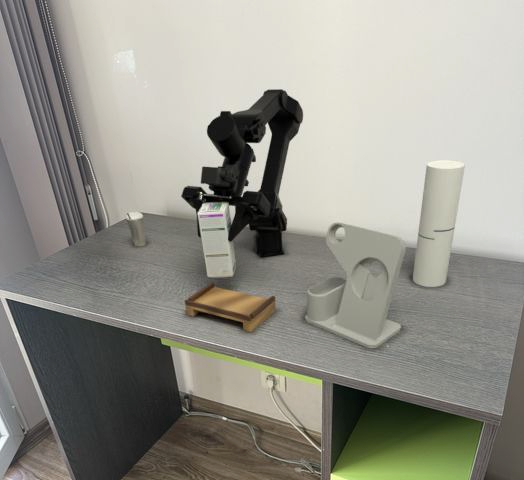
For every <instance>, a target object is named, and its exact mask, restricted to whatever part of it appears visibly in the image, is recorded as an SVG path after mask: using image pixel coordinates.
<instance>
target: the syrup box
mask: <svg viewBox="0 0 524 480" xmlns="http://www.w3.org/2000/svg"><path fill="white" fill-rule="evenodd" d="M197 214H198V220H199V226H200V233H201V238H200V239H201V244H202V253H203V257H204V264H205V271H206V276H207V278H231V277H232V278H233V277H234V274H235V271H236V267H237V261H236V252H235V244H234V243H235V242H234V239H233V240H232V242H230V241H229V240H228V235H229V231H230V228H231V225H232V220H231V211H230V206H229V203H228V202H211V203H204V204H202V206H201V208H200V209H199V211H198V213H197Z"/></svg>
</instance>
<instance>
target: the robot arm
mask: <svg viewBox="0 0 524 480" xmlns="http://www.w3.org/2000/svg"><path fill="white" fill-rule="evenodd" d="M303 120H304V110H303V108H302V106H301V104H300V102H299V100H297V99H295V98H293V96H290V95H289V94H288V93H287V91H286V90H284V89H282V88H278V89H276V88H275V89H273V88H272V89H266V90H264V92H263V93H262V96H260V97H259V99H257V100H256V101H255V102H254V103H253V104H252V105H251V106H250V107H249V108H247V109H244V110H239V111H236V112H234V113H232V112H231V111H230V110H221V111H220V114H219V115H218V116H216V117H215V118H213V119H212V120H211V121H210V123H209V124H208V125H207V126H206V127H207V128H206V135H207V137H208V138H209V140H210V141H211V143H212V144H213V146H214V147H215V149H216V151H217V152H218V153H219V154H220V156H222V158H223V162H222V165H221V166H219V165H218V166H217V167H216V166H202V167H201V175H200V184H201V185H204V184H205V185H208V189H209V190H210V191H211V192H213V193H208V192H206V190H204V188H203V187H202V186H196V185H195V186H194V185H187V186H184V188H183V189H182V192H181V196H180V197H181V198H182V199H183V200H184V201H185V202H186V203H187V204H188V205H189V206H190V207H191V208H192V209H194V210H195V213H196V228H197V236H198V237H199V238H200V239H201V233H200V226H199V220H198V214H197V213H198V211H199V209H200V208H201V206H202V204H204V203H211V202H228V203H229V207H230V206H231V207H234V216H233V219H232V221H231V228H230V231H229V235H228V240H229V241H230V242H232V240H233V241H234V240H235V238H237V237H238V235H239V234H240V233H241V232H242V231H243V230H244V229H245V228H246V227H247V226H248V227H249V231H251V232H253V231H254V232H255V234H253V246H254V251H255V252H256V253H257V254H258V256H259V257H260V258H265V257H271V256H279V255H284V254H285V250H284V249H283V232H286V231H287V226H288V218H287V216H286V213H284V211H283V204H282V202H281V198H280V196H279V194H280V190H281V186H282V181H283V176H284V171H285V166H286V161H287V156H288V151H289V148H290V147H289V146H290V142H291V141H292V140H293V139H294V138H295V137H296V136H297V135H298V134H299V130H300V127H301V124H302V123H303ZM266 125H268V128H269V131H270V133H271V135H270V137H271V138H270V141H269V147H268V150H267V155H266V160H265V165H264V169H263V170H264V171H263V174H262V178H261V180H262V181H261V183H260V188H259V189H258V191H255V190H253V191H252V190H245V187H249V183H250V182H249V180H248V176H249V172H250V169H251V165H252V163H256V162H257V157H256V154H255V151H254V148H252V146H251V145H250V144H260V143H261V142H262V140H263V139H264V137H265V135H266V134H267V132H266V131H267V127H266ZM244 190H245V191H244Z"/></svg>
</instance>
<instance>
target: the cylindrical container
mask: <svg viewBox="0 0 524 480" xmlns="http://www.w3.org/2000/svg"><path fill="white" fill-rule="evenodd" d="M465 168H466V164H465V163H464V162H463V161H458V160H452V159H451V160H450V159H439V160H432V161H427V162H426V166H425V175H424V183H423V192H422V200H421V208H420V215H419V225H418V233H417V239H416V240H417V241H416V248H415V257H414V265H413V272H412V274H413V275H412V281H413V282H414V283H415V284H416V285H418V286H422V287H427V288H437V287H442V286H443V285H445V284H446V282H447V276H448V271H449V264H450V258H451V254H452V253H451V252H452V246H453V240H454V233H455V228H456V222H457V216H458V209H459V205H460V204H459V203H460V198H461V192H462V184H463V180H464V173H465V172H464V171H465Z"/></svg>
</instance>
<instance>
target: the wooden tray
mask: <svg viewBox="0 0 524 480" xmlns="http://www.w3.org/2000/svg"><path fill="white" fill-rule="evenodd" d="M184 305H185V312H186V316H188V317H192V318H194V317H196V316H197V315H199V314H200V313H207V314H210V315H214V316H217V317H221V318H225V319H228V320H233V321H236V322H241V323H242V329H243V332H246V333H253V332H254V331H255V330H256V329H257V328H258V327H260V326H261V325H262V324H263V323H264V322H265V321H267V320H268V319H269V318H270V317H271V316H272V315H273V314H275V313H276V311H277V310H276V309H277V308H276V296H275V295H271V296H270V297H269V298H265V297H260V296H256V295H252V294H247V293H244V292H238V291H235V290H230V289H226V288H222V287H216V284H215V282H210V283H208V284H207V285H206V286H204V287H203V288H201V289H200V290H198V291H196V292H194V293H193V294H192V295H190V296H189V297H188V298H187V299H185V300H184Z"/></svg>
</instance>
